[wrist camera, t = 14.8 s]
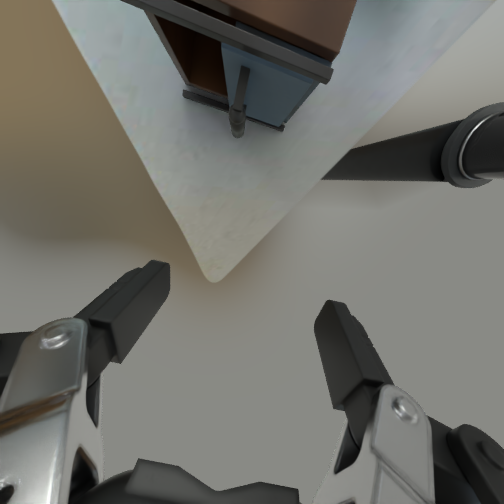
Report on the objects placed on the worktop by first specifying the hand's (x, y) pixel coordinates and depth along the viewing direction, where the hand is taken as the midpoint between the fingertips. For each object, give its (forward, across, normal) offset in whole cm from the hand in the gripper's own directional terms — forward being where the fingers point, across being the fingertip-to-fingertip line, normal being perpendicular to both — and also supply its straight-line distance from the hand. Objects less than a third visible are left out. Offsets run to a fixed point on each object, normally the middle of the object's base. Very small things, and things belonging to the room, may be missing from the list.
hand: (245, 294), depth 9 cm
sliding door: (+25, +4, -8) cm, 26 cm away
